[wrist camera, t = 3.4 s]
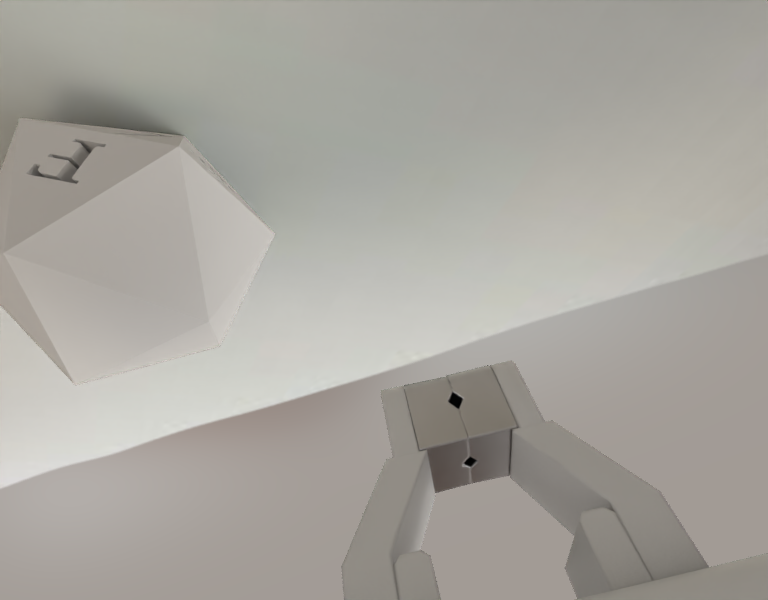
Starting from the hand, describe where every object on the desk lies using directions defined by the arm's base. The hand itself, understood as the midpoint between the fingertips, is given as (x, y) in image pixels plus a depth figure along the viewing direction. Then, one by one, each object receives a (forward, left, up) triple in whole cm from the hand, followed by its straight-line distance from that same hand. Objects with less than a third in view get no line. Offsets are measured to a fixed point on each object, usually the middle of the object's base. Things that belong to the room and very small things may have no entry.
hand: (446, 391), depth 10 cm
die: (+9, 0, -13) cm, 16 cm away
